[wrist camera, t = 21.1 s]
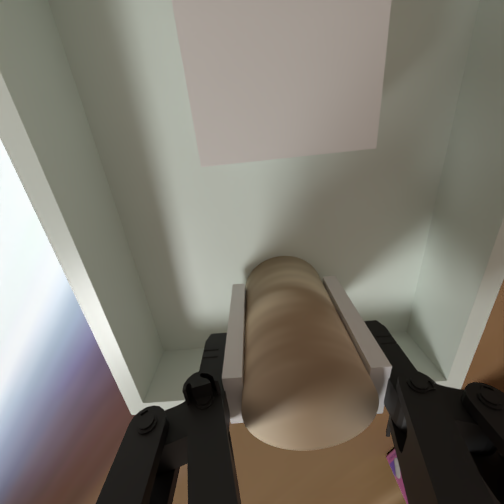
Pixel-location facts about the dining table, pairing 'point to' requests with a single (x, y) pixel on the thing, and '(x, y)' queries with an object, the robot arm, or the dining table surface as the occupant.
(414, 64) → the tote
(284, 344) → the beech cylinder
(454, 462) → the robot arm
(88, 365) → the dining table surface
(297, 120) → the grey cube
